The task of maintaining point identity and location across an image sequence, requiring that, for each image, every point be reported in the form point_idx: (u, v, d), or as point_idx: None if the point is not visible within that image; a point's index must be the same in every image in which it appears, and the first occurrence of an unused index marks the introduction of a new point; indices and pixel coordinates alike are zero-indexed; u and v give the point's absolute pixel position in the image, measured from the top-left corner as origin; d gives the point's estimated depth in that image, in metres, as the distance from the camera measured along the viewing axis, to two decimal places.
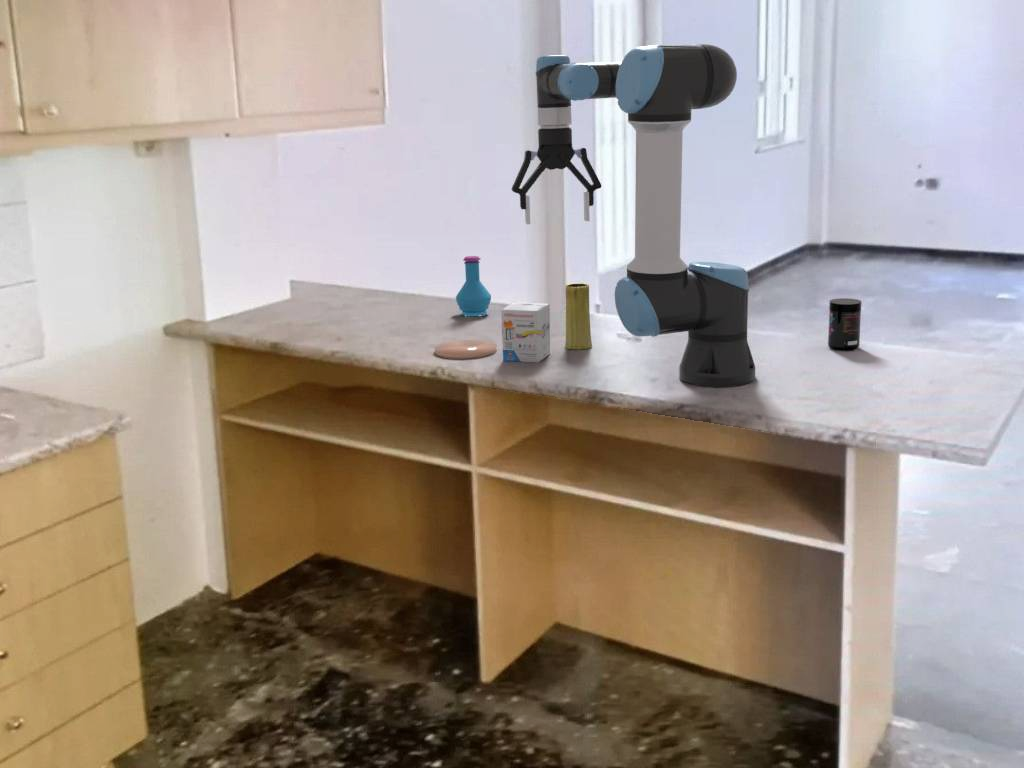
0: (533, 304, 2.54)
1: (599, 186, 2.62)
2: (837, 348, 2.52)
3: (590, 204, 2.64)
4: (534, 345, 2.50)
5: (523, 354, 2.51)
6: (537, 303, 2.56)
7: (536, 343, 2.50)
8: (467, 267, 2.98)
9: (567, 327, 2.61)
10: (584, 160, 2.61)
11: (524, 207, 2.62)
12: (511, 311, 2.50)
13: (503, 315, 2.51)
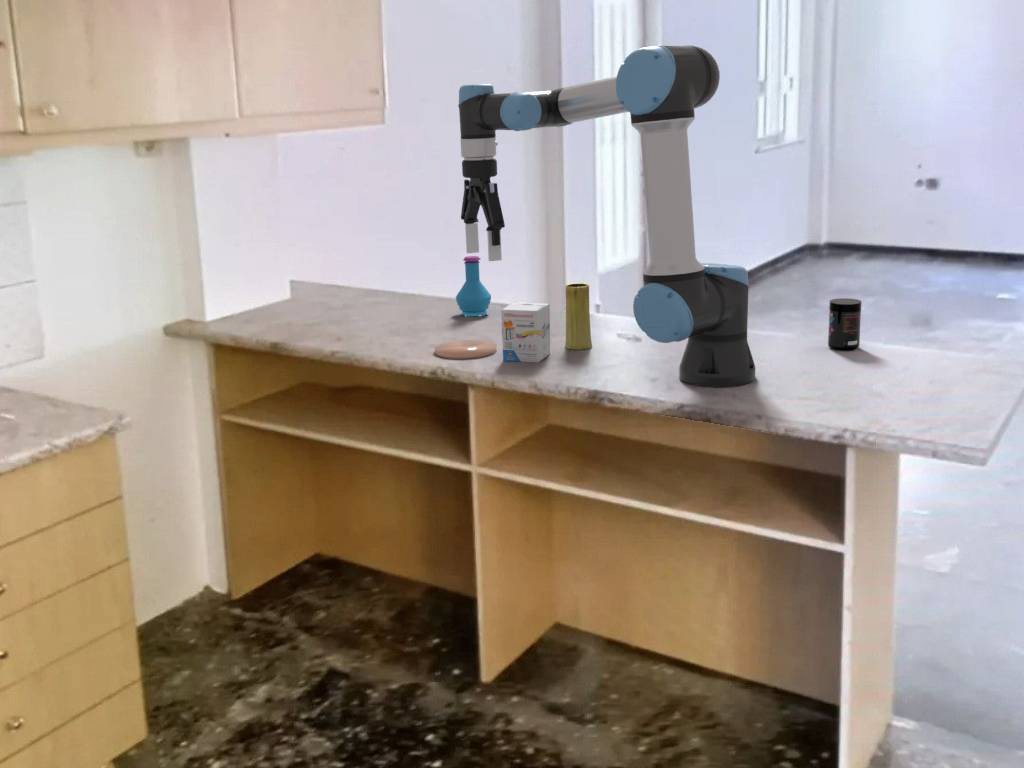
0: (533, 304, 2.54)
1: (492, 226, 2.43)
2: (837, 348, 2.52)
3: (492, 244, 2.47)
4: (534, 345, 2.50)
5: (523, 354, 2.51)
6: (537, 303, 2.56)
7: (536, 343, 2.50)
8: (467, 267, 2.98)
9: (567, 327, 2.61)
10: (486, 196, 2.45)
11: None
12: (511, 311, 2.50)
13: (503, 315, 2.51)
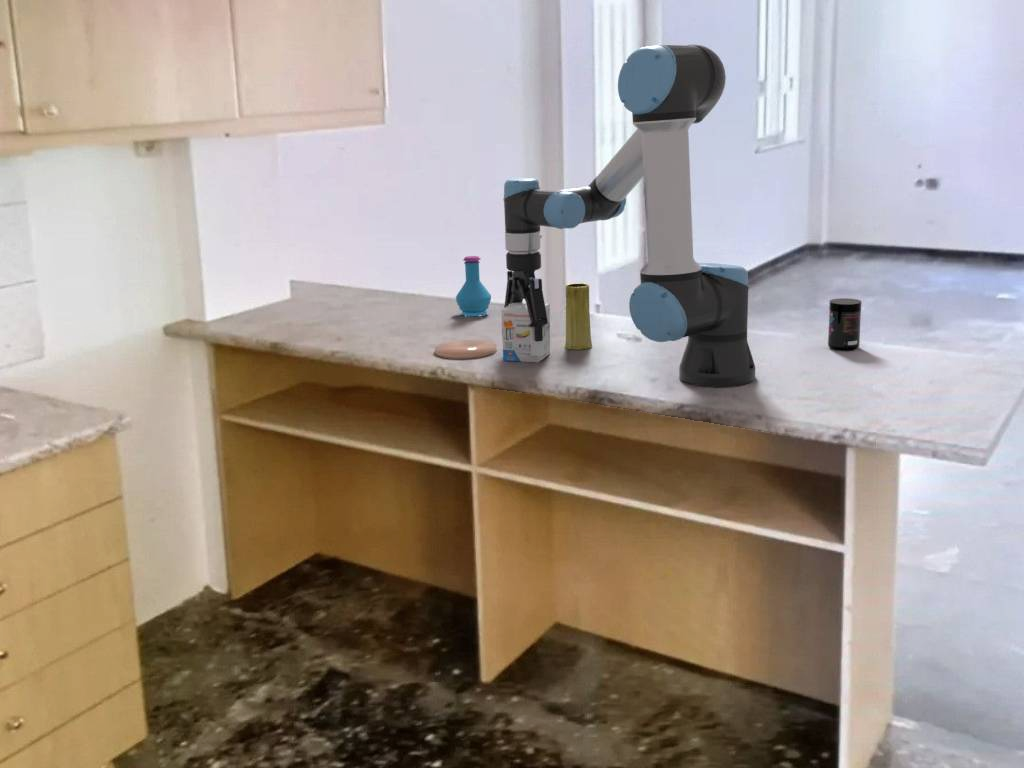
0: None
1: (536, 323, 2.45)
2: (837, 348, 2.52)
3: (535, 339, 2.48)
4: None
5: (524, 354, 2.51)
6: None
7: None
8: (467, 267, 2.98)
9: (567, 327, 2.61)
10: (530, 292, 2.46)
11: None
12: (511, 311, 2.50)
13: (503, 315, 2.51)
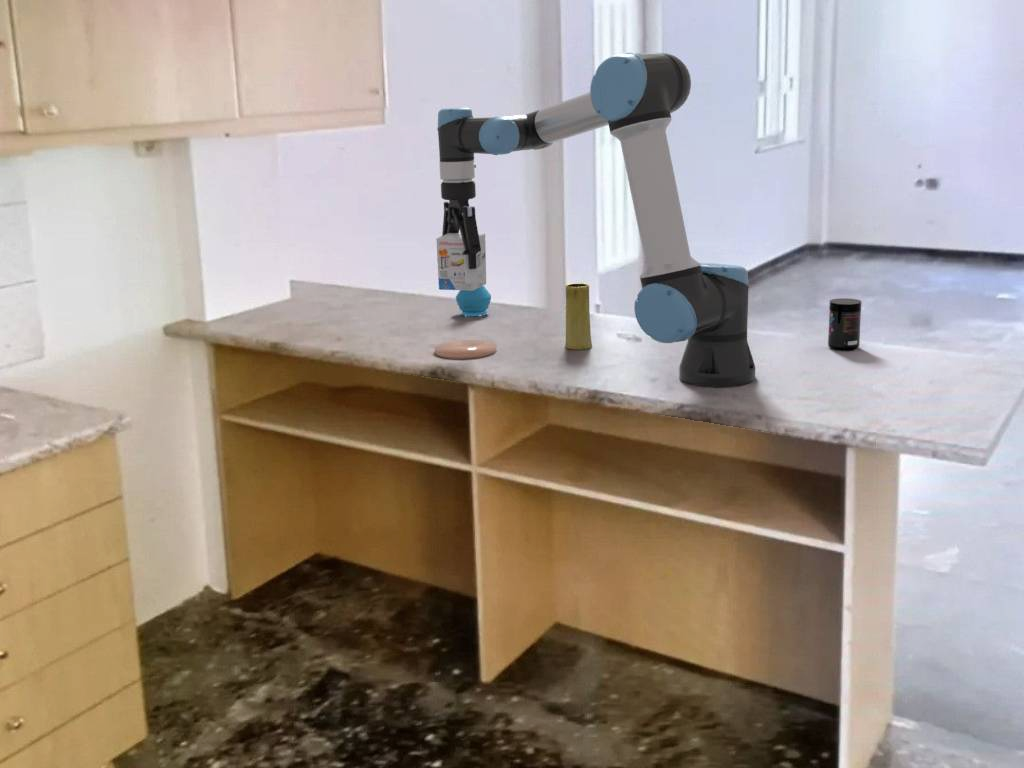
0: None
1: (469, 250, 2.48)
2: (837, 348, 2.52)
3: (469, 267, 2.51)
4: None
5: (459, 282, 2.55)
6: None
7: None
8: None
9: (567, 327, 2.61)
10: (463, 220, 2.49)
11: None
12: (445, 239, 2.53)
13: (438, 244, 2.54)
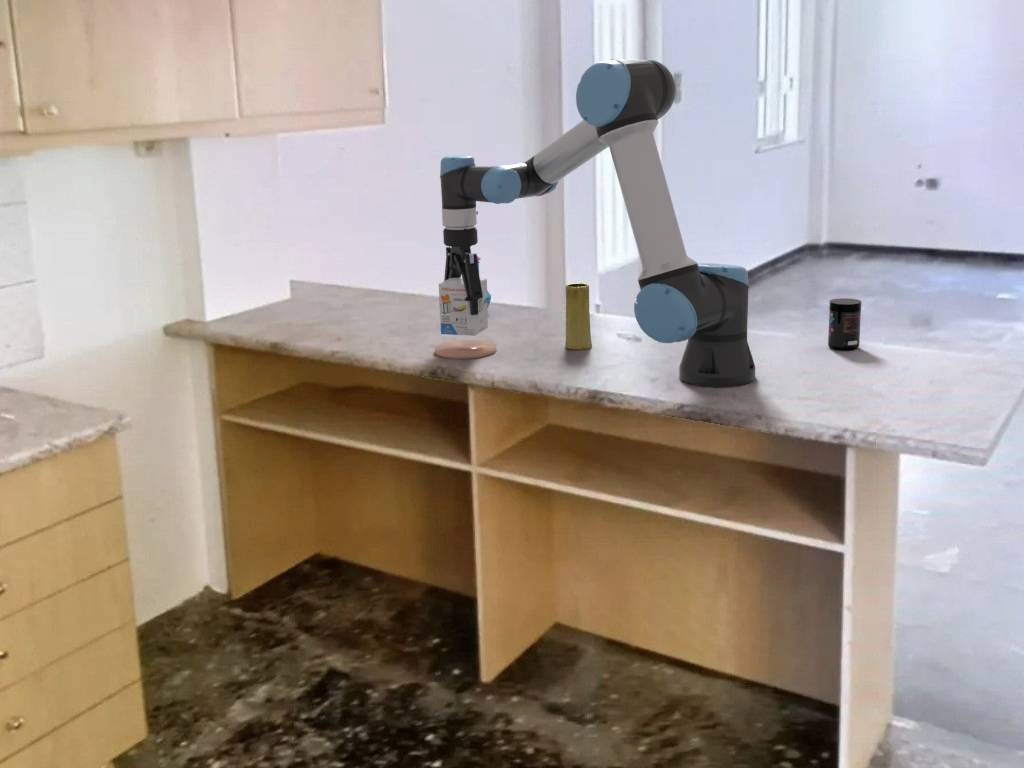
0: None
1: (471, 297, 2.51)
2: (837, 348, 2.52)
3: (471, 313, 2.54)
4: None
5: (460, 327, 2.57)
6: None
7: None
8: None
9: (567, 327, 2.61)
10: (465, 267, 2.52)
11: None
12: (447, 285, 2.56)
13: (440, 289, 2.57)
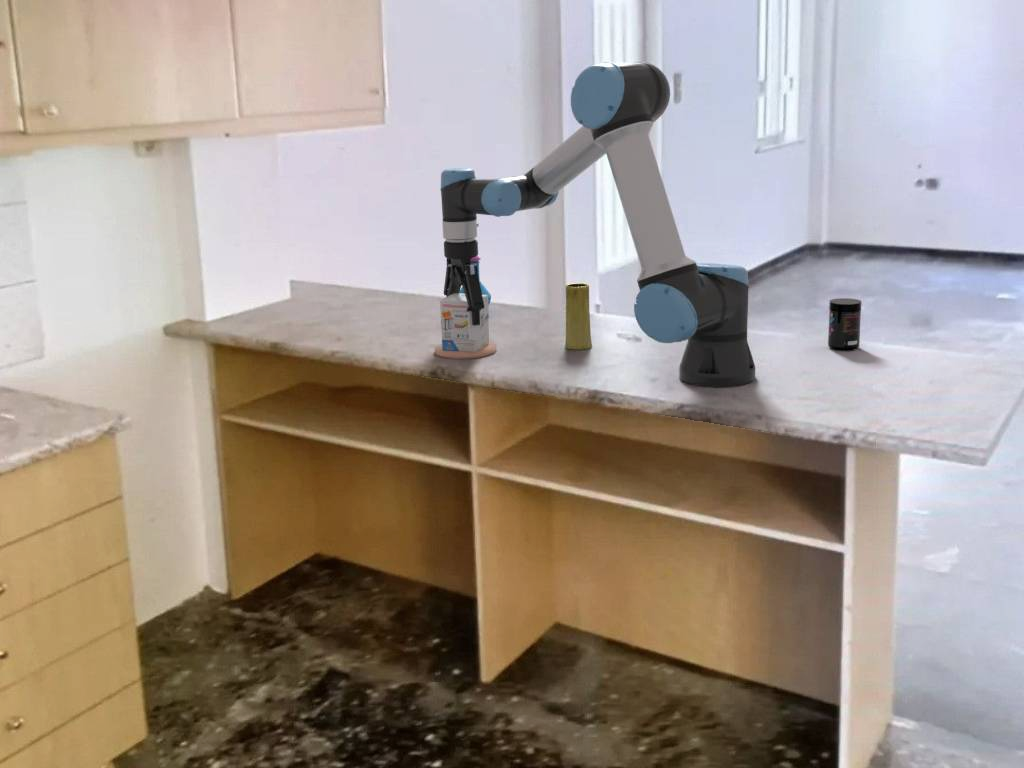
0: None
1: (472, 307, 2.51)
2: (837, 348, 2.52)
3: (472, 323, 2.54)
4: None
5: (462, 343, 2.58)
6: None
7: None
8: None
9: (567, 327, 2.61)
10: (466, 278, 2.52)
11: None
12: (449, 302, 2.57)
13: (442, 306, 2.57)
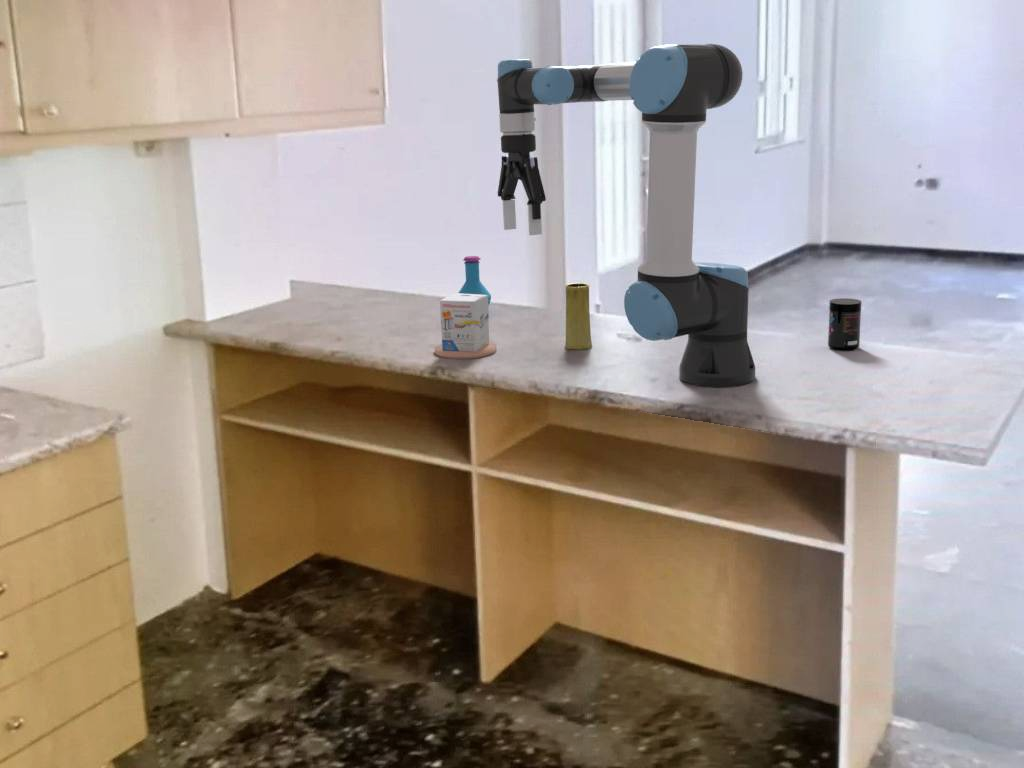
0: (472, 295, 2.60)
1: (534, 199, 2.45)
2: (837, 348, 2.52)
3: (533, 218, 2.48)
4: (471, 335, 2.57)
5: (462, 343, 2.58)
6: (476, 294, 2.62)
7: (474, 333, 2.57)
8: (467, 267, 2.98)
9: (567, 327, 2.61)
10: (526, 170, 2.46)
11: None
12: (449, 302, 2.57)
13: (442, 306, 2.57)
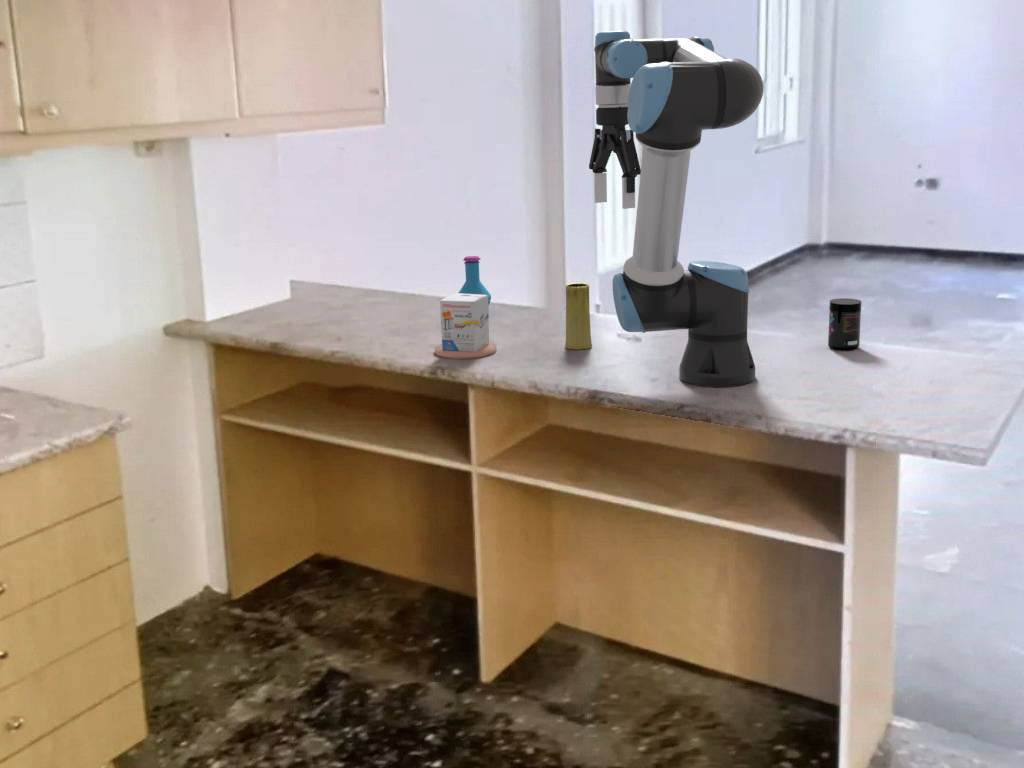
0: (472, 295, 2.60)
1: (629, 173, 2.44)
2: (837, 348, 2.52)
3: (627, 191, 2.47)
4: (471, 335, 2.57)
5: (462, 343, 2.58)
6: (476, 294, 2.62)
7: (474, 333, 2.57)
8: (467, 267, 2.98)
9: (567, 327, 2.61)
10: (622, 143, 2.46)
11: None
12: (449, 302, 2.57)
13: (442, 306, 2.57)
